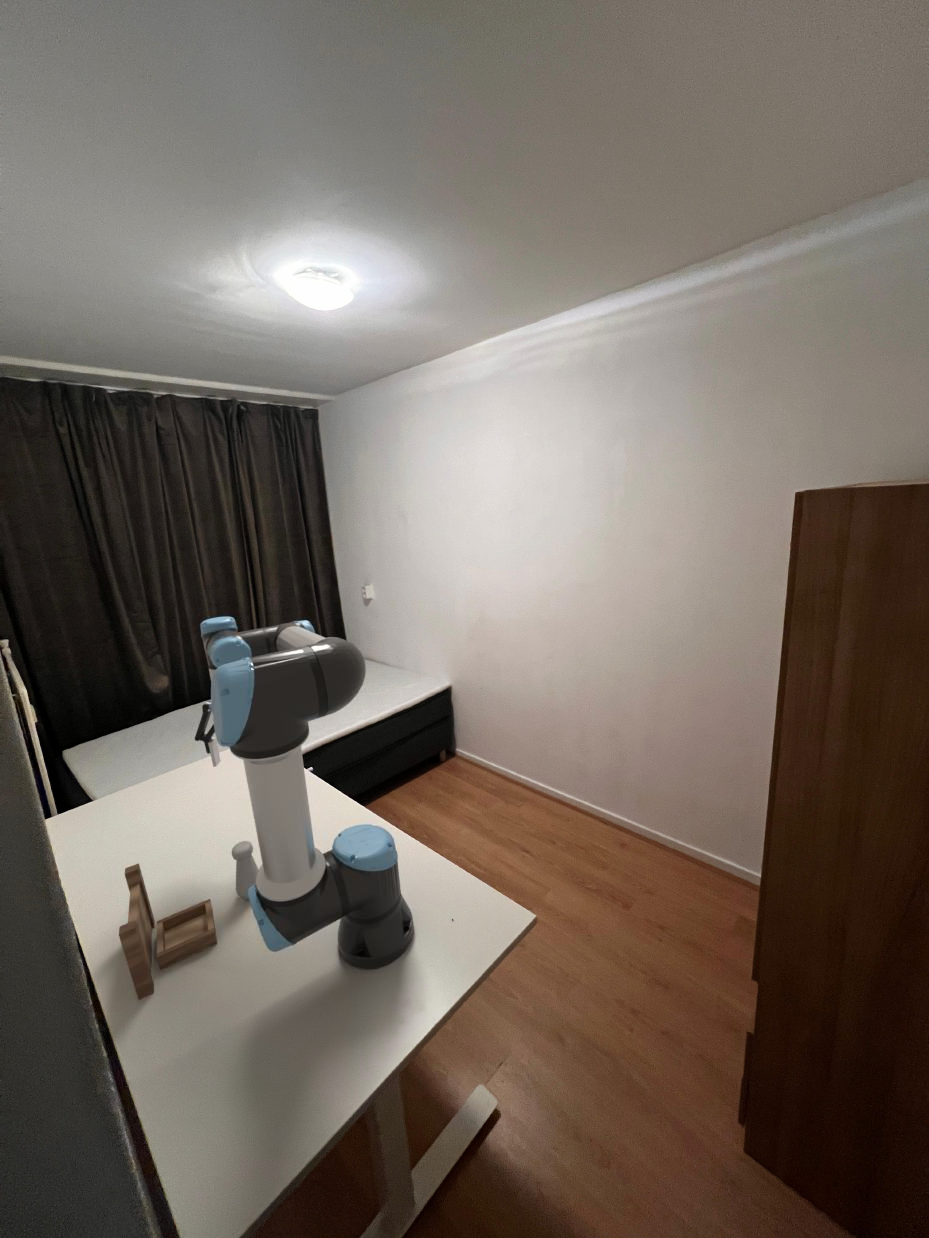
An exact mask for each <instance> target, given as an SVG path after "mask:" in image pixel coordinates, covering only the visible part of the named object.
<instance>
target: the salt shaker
mask: <svg viewBox="0 0 929 1238" xmlns="http://www.w3.org/2000/svg"><path fill="white" fill-rule="evenodd" d="M253 852H254V847H253V844H252V843H251V841H248V840H243V841H240V842H238V843H236V844H235V845H234V846H233V847H232V848H231V856H232V858H233V860H235V861H236V862H235V863H236V865H235V889H234V890H235V892H236V894H237V896H238V897H239V898H240V899H241V900H243V901H249V902H250V900H249V897H248V890H249V888H250V887H251V886H253V885H254V884H255V883H256V876H257V873H258V870H259V868H258V865H257V863H256V861H255V858H254V857H253V855H252V854H253Z"/></svg>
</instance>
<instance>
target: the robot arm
mask: <svg viewBox="0 0 929 1238" xmlns="http://www.w3.org/2000/svg"><path fill="white" fill-rule="evenodd" d="M199 628H200V633H201V634H200V636H201V639H202V643H203V648H204V652H205V657H206V659H207V660H206V661H207V667H208V671H209V677H210V681H211V683H210V685H211V686H210V700H207V701H206V702H204V704H203V705H201V708H202V715H201V718H200V720H199V724H198V727H197V729H196V733H195V736H194V740H195V742H203V743H204V747H205V752H206V754H209V755H210V757H211V762H212V766H213V767H218V765H219V764H220V763H221V756H220V752H219V748H218V747H219V746H220V747H223V748H224V747H227V748H229V751H230V753H231V755H233V756H234V757H236V758H238V759H240V760H242V761H243V765H244V766H243V767H244V772H245V778H246V782H247V789H248V793H249V799H250V803H251V804H250V805H251V808H252V815H253V819H254V826H255V832H256V837H257V841H258V847H259V852H260V859H261V863H262V864H261V865H260V866H259V868H258V873H257V876H256V883H255V884H254V885H253V886H251V887H250V888H249V890H248V897H249V900H250V901H249V900H248V901H249V903H250V904H249V905H250V906H251V910H252V913H253V916H254V919H255V920H256V924H257V926H258V929H259V932H260V934H261V937H262V939H263V942H264V945H265V946H266V948H267V949H268V950H269V951H271V952H274V953H277V952H280V951H282V950H285V949H287V948H288V947H291V946H295V945H296V944H297V943H299V942H301V941H303V940H304V939H306V938H308V937H310V936H312V935H314V934H316V933H317V932H319V931H320V930H322V929H324V928H326V927H328V926H330V925H332V924H333V923H335V922H336V921H339V925H338V929H337V941H338V942H337V943H338V949H339V953H340V954H341V957H342V958H343V960H344V961H346V963H347V964H349V965H350V966H352V967H354V968H358V969H362V970H363V969H364V970H372V969H373V970H374V969H379V968H382V967H385V966H387V965H389V964H392V962H394V961H396V960H397V959H398V958H399V957H401V956H402V955H403V954H404V953H405V951H407V949H408V948H409V946H410V944H411V942H412V939H413V936H414V931H415V929H414V928H415V926H414V919H413V918H414V917H413V914H412V911H411V908H410V907H409V905H408V904H407V900H405V898H404V896H403V894H402V890H401V881H400V872H399V871H400V869H399V862H398V857H399V856H398V855H399V854H398V852H397V848H396V843H395V839H394V837H393V835H392V834H391V833H390V832H389V831H388V830H387V829H386V828H383V827H382V826H380V825H379V826H378V825H373V824H369V823H368V824H367V823H366V824H356V825H353V826H349V827H348V828H344V830H341V831H340V832H339V833H338V834H337V836H336V837H335V838H334V840H333V843H332V846H331V848H332V849H330V850H327V851H326V852H324V853H323V852H322V851H321V850H320V849H318V848H317V847H315V840H314V833H313V825H312V819H311V818H312V817H311V812H310V811H311V810H310V803H309V802H310V801H309V795H308V789H307V782H306V781H307V780H306V773H305V767H304V766H305V765H304V759H303V751H302V745H304V744H305V742H306V741H307V740H308V738H309V736H310V728H309V727H310V726H309V722H312V721H315V720H317V719H321V718H324V717H326V716H329V715H332V714H335V713H337V712H338V711H340V710H342V709H344V708H345V707H347V705H349V704H350V703H351V702H352V701H353V700H354V699H355V697H356V696H357V695H358V694H359V693H360V691H361V689H362V686H363V685H364V681H365V679H366V670H367V667H366V662H365V661H366V660H365V658H364V655H363V654H362V651H360V649H359V648H358V647H357V646H356V645H355V644H354V643H352V642H350V641H348V640H346V639H343V638H341V637H336V636H335V637H334V636H330V637H324V636H322V635H320V634H317V633H316V631H315V628H314V626H313V625H312V623H311V622H310V621H309V620H306V619H305V620H293V621H291V622H287V623H281V624H277V625H273V626H267V627H260V628H255V629H250V630H244V631H240V632H238V629H239V628H238V626H237V622H236V620H235V618H234V617H232V616H217V617H211V618H208V619H205V620H203V621H202V622H200V627H199ZM211 714H212V719H213V721H212V722H213V724H212V726H211V727H210V729H209V730H208V732H207V733H205V732H206V729H207V727H208V724H209V720H210V717H211ZM214 735H215V737H213V736H214ZM218 745H219V746H218Z"/></svg>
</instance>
